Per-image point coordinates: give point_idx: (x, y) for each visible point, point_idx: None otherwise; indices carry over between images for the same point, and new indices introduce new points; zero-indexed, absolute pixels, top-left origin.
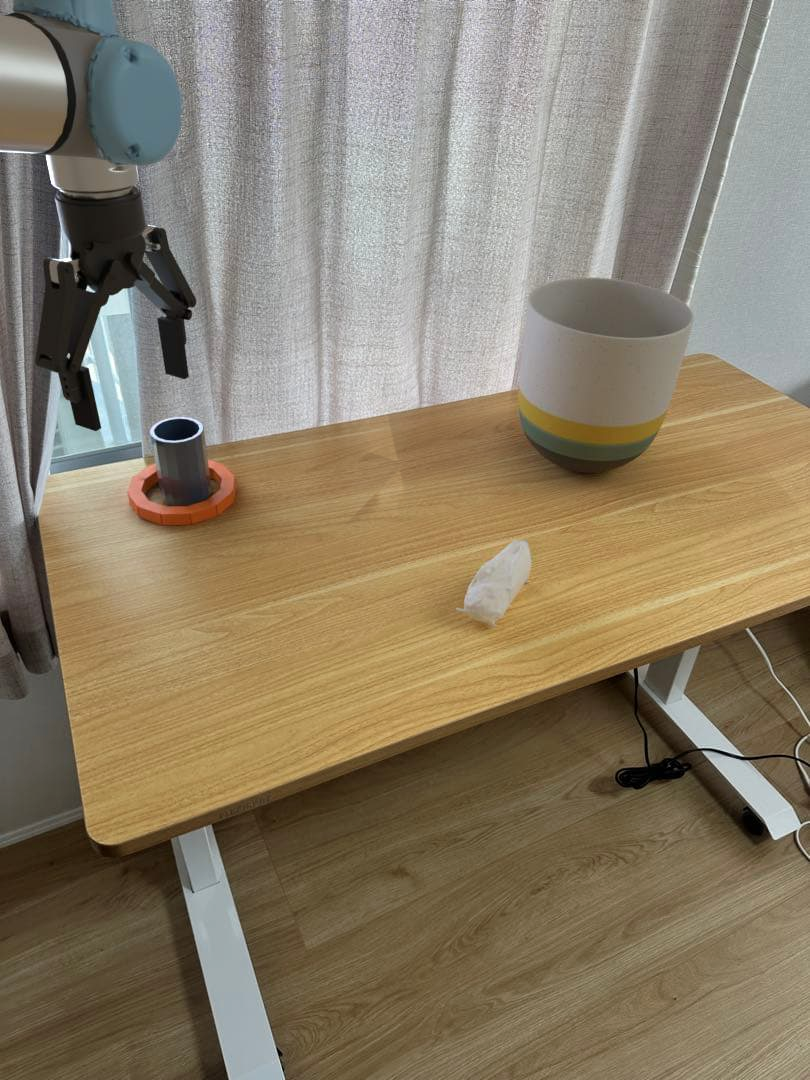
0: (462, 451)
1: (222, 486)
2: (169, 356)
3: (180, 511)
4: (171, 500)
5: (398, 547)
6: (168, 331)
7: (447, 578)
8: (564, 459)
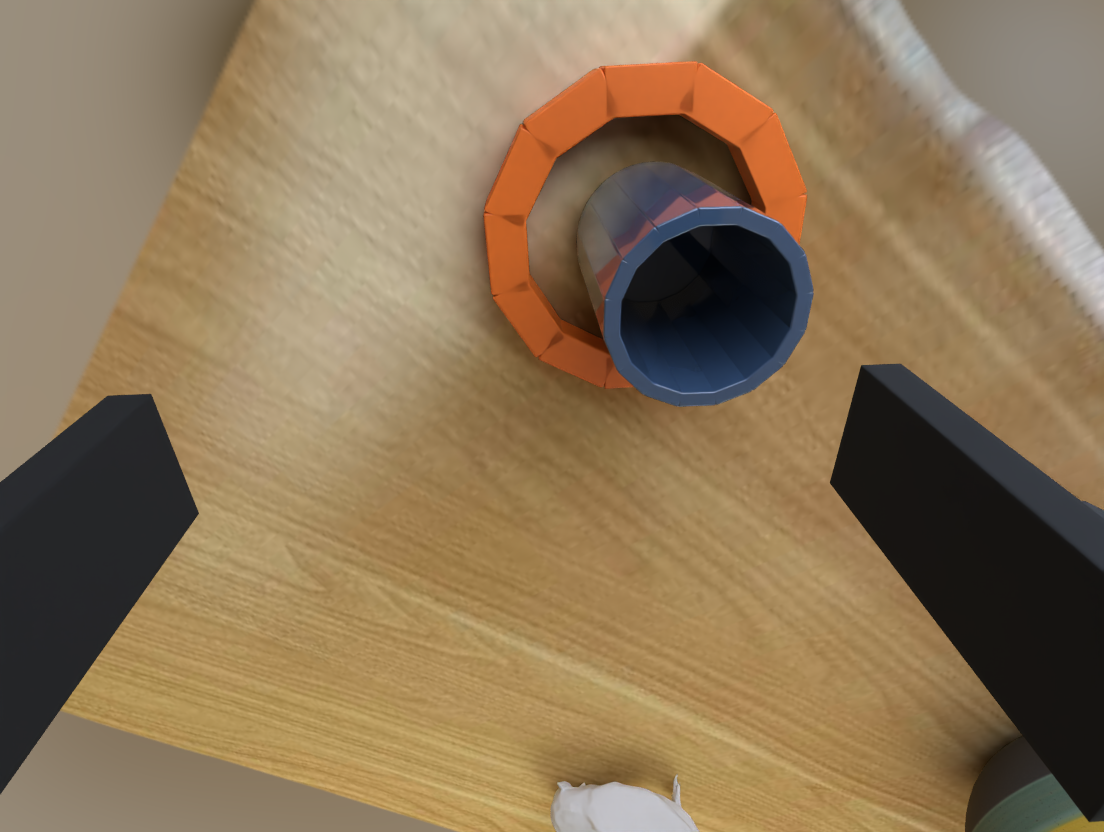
0: None
1: None
2: (920, 479)
3: (532, 333)
4: (578, 253)
5: (672, 666)
6: (1053, 657)
7: (632, 734)
8: (972, 813)
